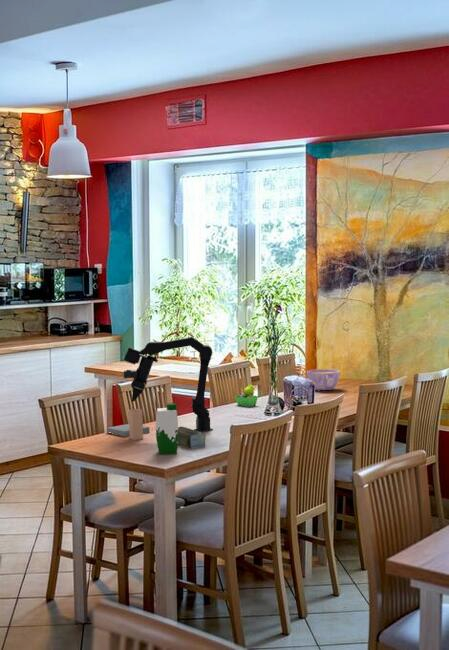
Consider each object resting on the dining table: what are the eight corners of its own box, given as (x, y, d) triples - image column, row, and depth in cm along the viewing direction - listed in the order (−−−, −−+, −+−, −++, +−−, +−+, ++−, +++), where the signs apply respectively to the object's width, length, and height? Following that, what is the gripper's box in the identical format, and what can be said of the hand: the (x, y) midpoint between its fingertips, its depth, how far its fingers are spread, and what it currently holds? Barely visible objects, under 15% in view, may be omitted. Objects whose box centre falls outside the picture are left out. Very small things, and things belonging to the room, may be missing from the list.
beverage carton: (190, 449, 370) (189, 434, 370) (166, 442, 386) (166, 427, 386) (206, 447, 375) (205, 431, 374) (182, 440, 390) (182, 425, 390)
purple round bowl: (335, 393, 518) (335, 373, 518) (302, 392, 526) (302, 372, 525) (343, 388, 537) (343, 369, 536) (311, 387, 544) (311, 368, 543)
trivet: (149, 432, 408) (149, 427, 408) (125, 436, 399) (124, 431, 399) (131, 428, 419) (131, 423, 418) (106, 433, 409) (106, 427, 409)
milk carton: (178, 454, 360) (177, 405, 359) (156, 455, 359) (155, 406, 358) (178, 449, 369) (177, 402, 368) (156, 450, 368) (155, 403, 367)
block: (138, 437, 397) (138, 408, 397) (142, 439, 394) (142, 410, 393) (129, 438, 395) (128, 409, 394) (133, 440, 391) (132, 411, 390)
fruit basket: (234, 405, 482) (233, 384, 481) (245, 403, 488) (245, 383, 487) (248, 407, 474) (248, 386, 473) (260, 405, 480) (260, 384, 479)
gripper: (129, 360, 417) (118, 391, 418) (126, 364, 399) (115, 397, 399) (152, 367, 418) (141, 398, 419) (149, 372, 399) (138, 405, 400)
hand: (133, 399), depth 409 cm, fingers open, 9 cm apart
